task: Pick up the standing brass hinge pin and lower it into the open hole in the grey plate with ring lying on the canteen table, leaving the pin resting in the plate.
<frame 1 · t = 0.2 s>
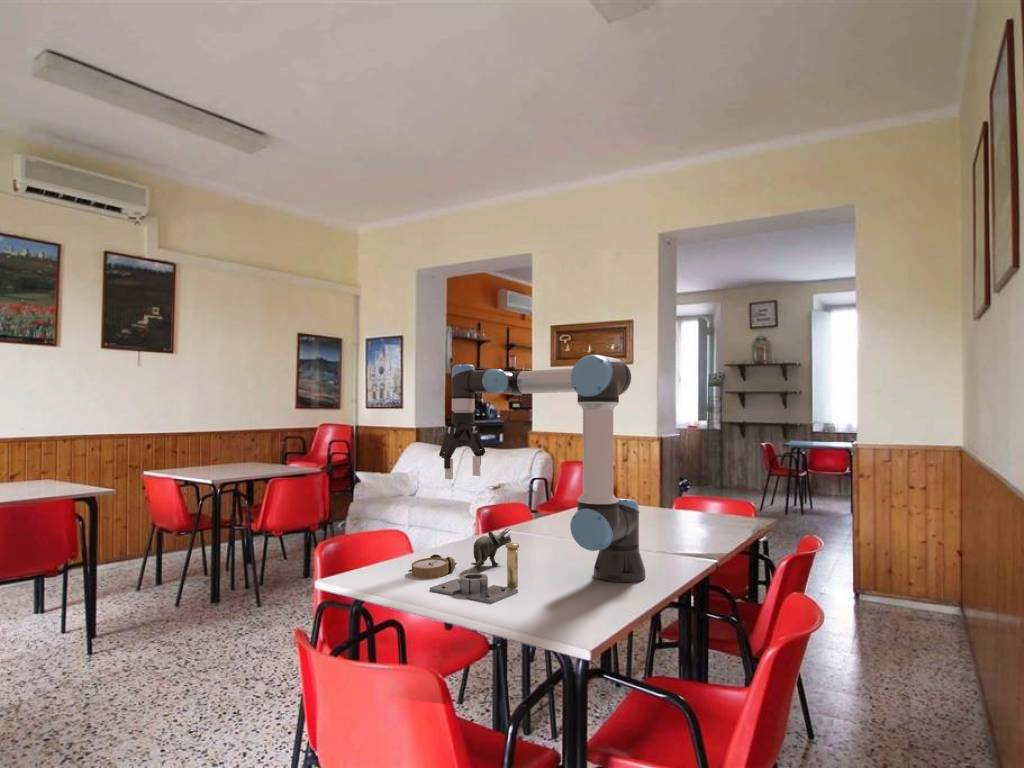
hand: (463, 477, 205), 28 cm above the table, fingers open, 13 cm apart
grey plate with ring: (473, 591, 172), on the table
dinosaur figurine: (483, 568, 199), on the table
hinge pin: (512, 586, 177), on the table
alarm clock: (434, 573, 193), on the table
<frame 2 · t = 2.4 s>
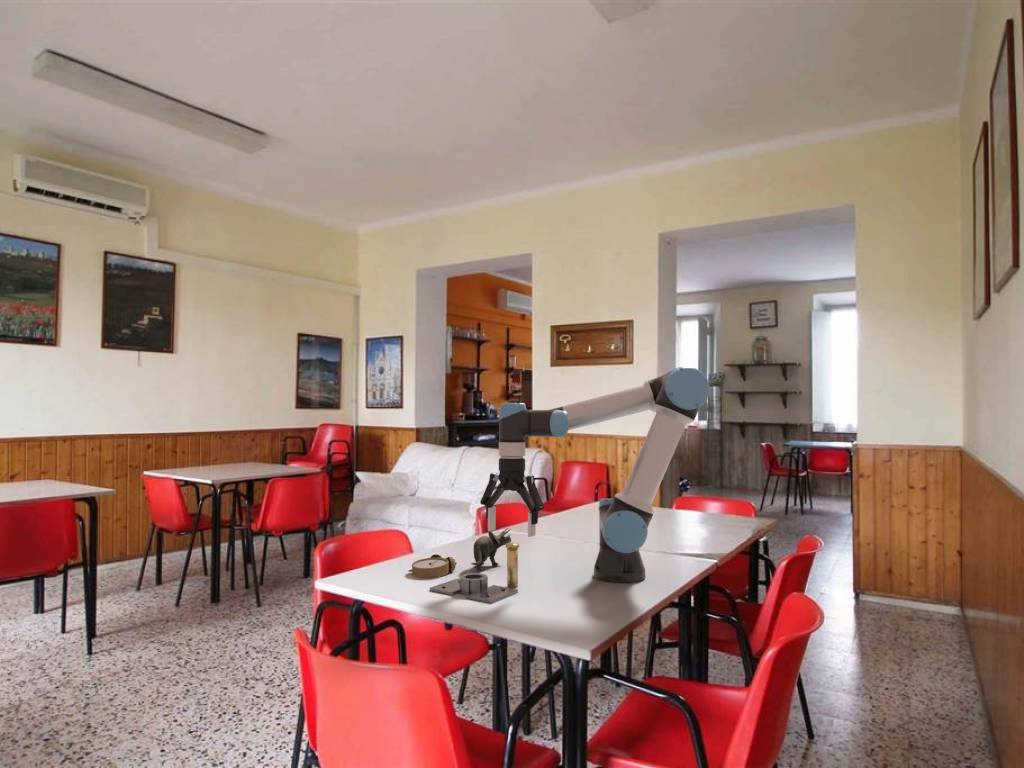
hand: (511, 533, 178), 15 cm above the table, fingers open, 13 cm apart
nothing on the table moved.
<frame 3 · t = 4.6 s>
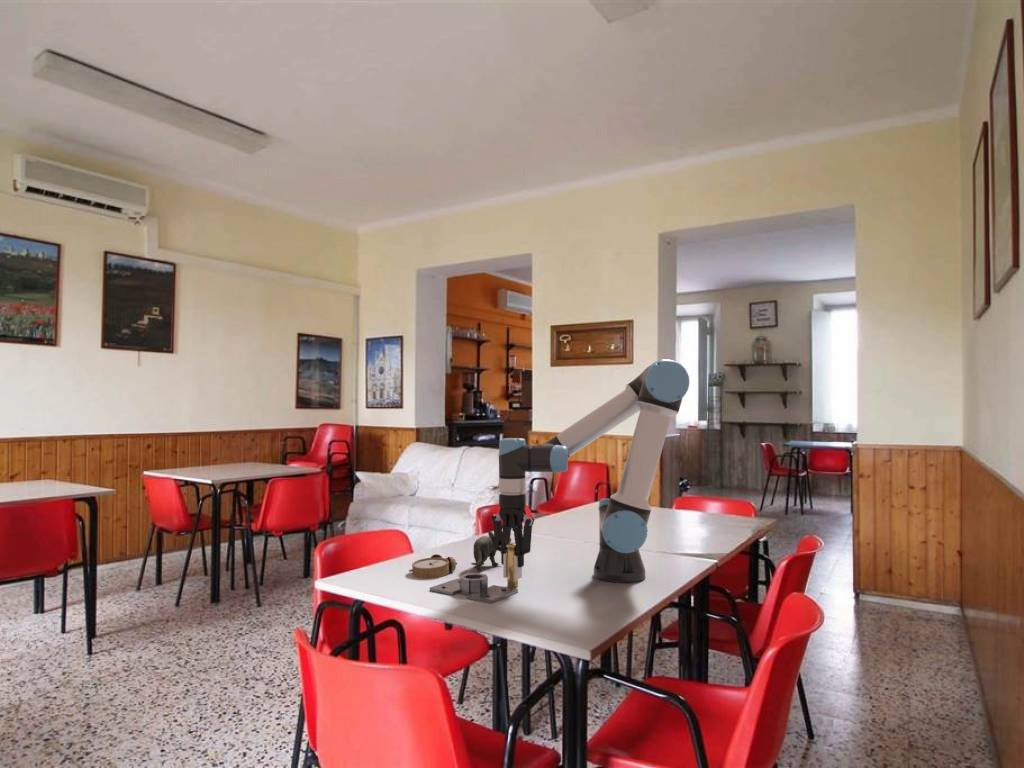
hand: (512, 577, 177), 3 cm above the table, fingers closed on hinge pin, 3 cm apart
hinge pin: (512, 586, 177), on the table, touching gripper
everything else where it was.
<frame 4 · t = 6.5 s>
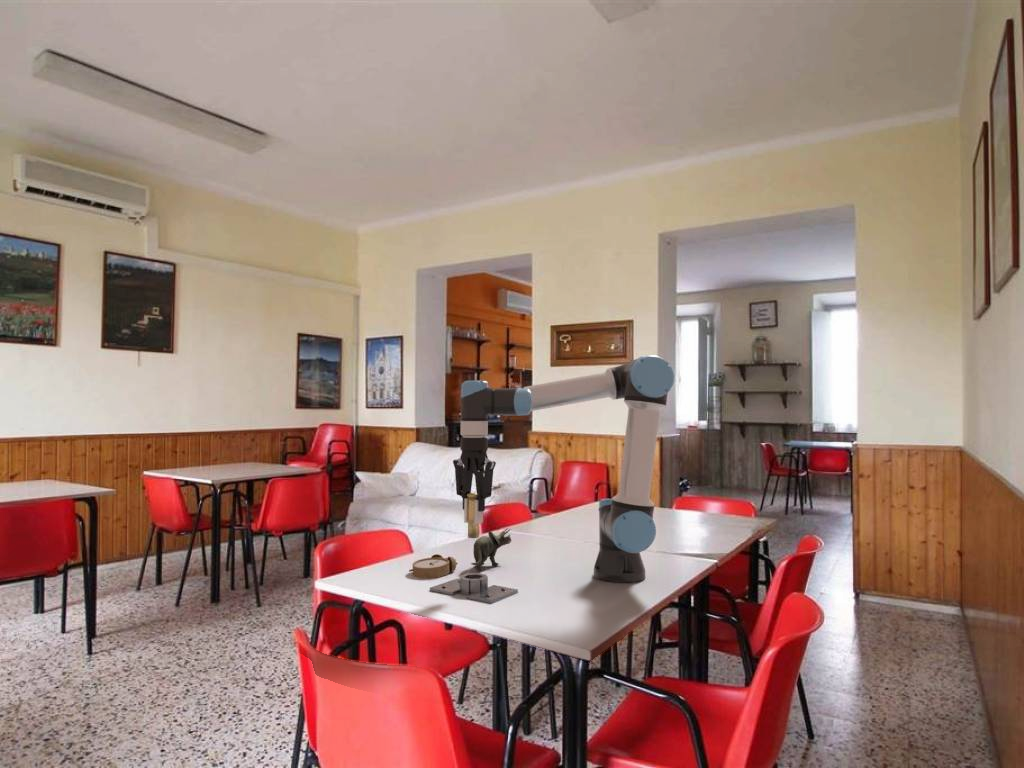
hand: (473, 522, 173), 19 cm above the table, fingers closed on hinge pin, 3 cm apart
hinge pin: (473, 537, 173), point 15 cm above the table, touching gripper
everything else where it was.
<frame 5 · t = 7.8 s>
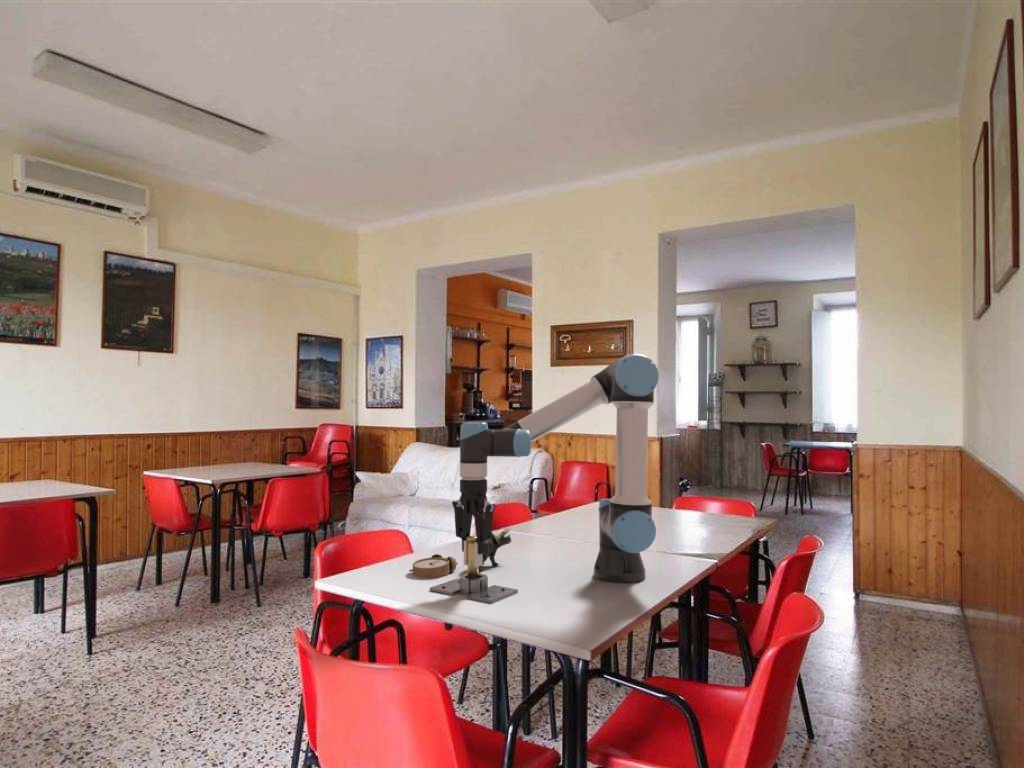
hand: (473, 564, 172), 7 cm above the table, fingers closed on hinge pin, 3 cm apart
hinge pin: (473, 580, 172), point 3 cm above the table, touching gripper
everything else where it was.
when the fingers open (6 cm above the table, at t = 8.7 s): hinge pin drops 1 cm, resting in grey plate with ring.
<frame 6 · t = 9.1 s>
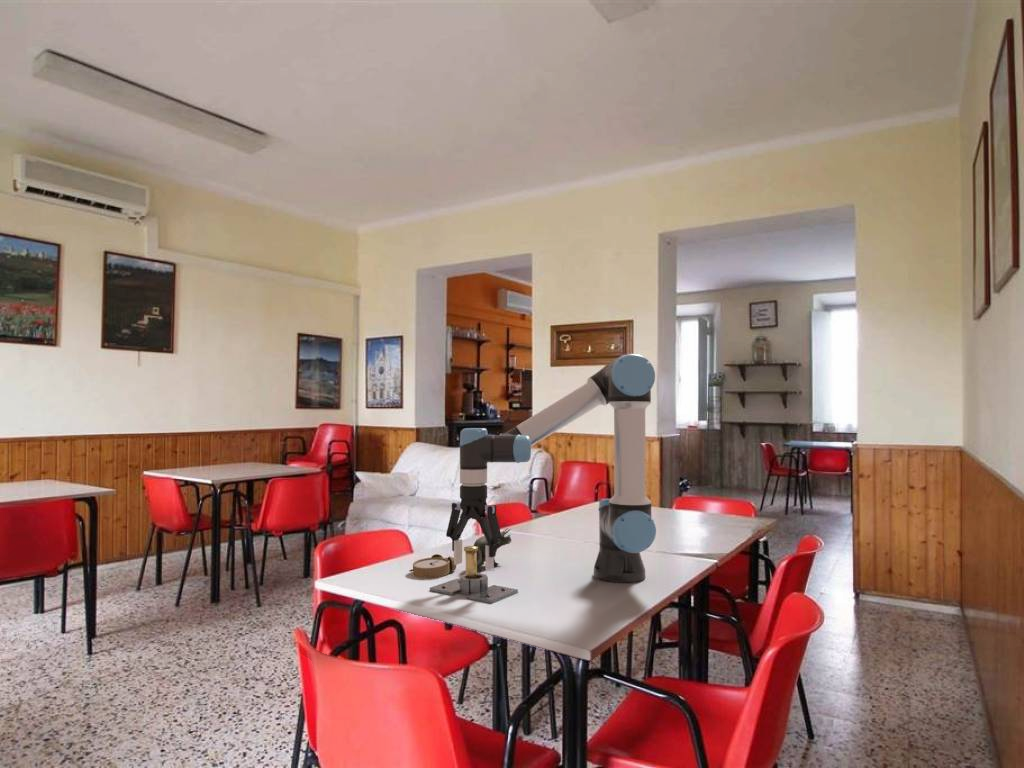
hand: (473, 566, 172), 7 cm above the table, fingers open, 10 cm apart
hinge pin: (471, 591, 172), resting in grey plate with ring
everything else where it was.
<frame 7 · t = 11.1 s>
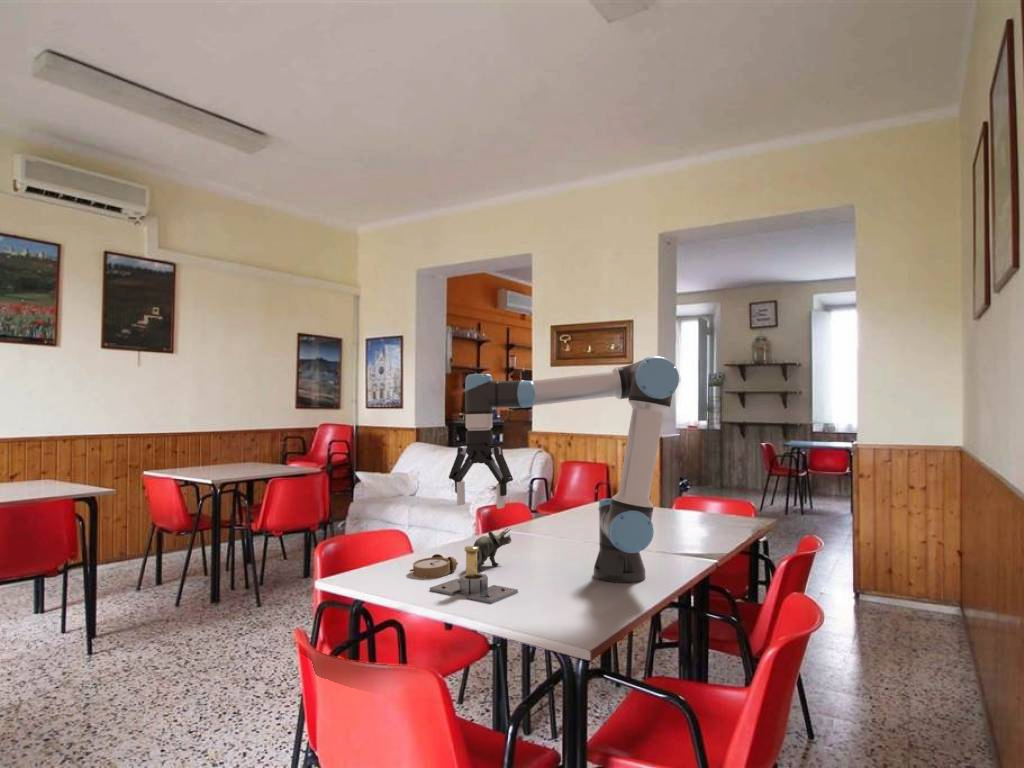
hand: (480, 506, 175), 23 cm above the table, fingers open, 13 cm apart
nothing on the table moved.
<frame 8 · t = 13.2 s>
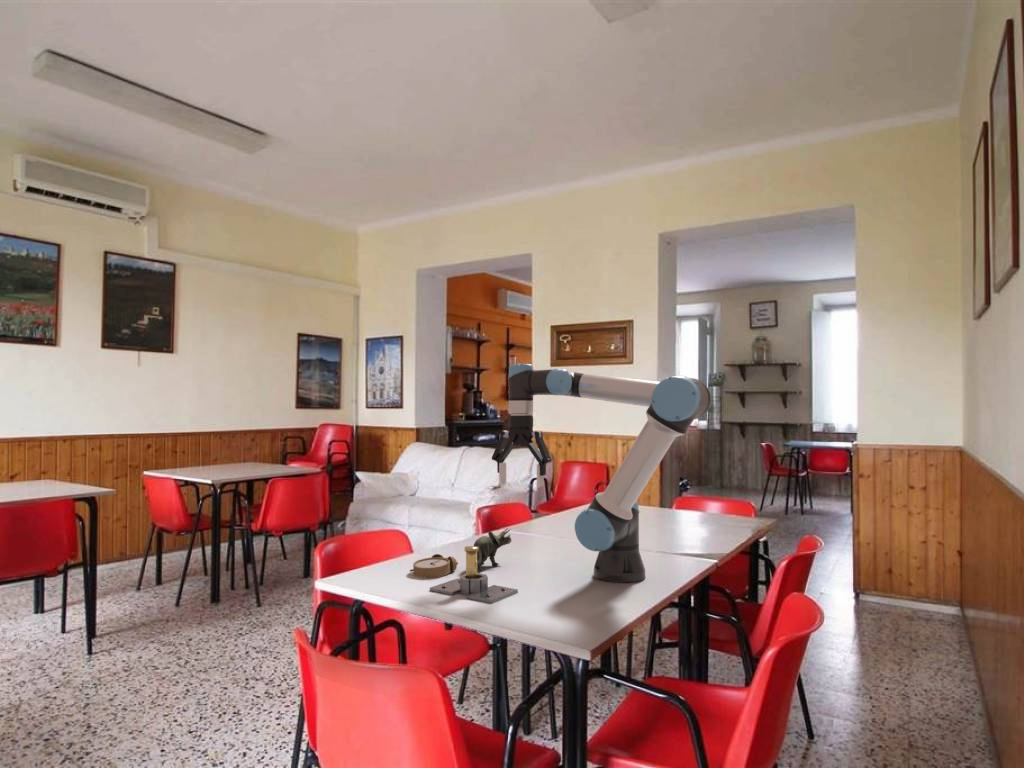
hand: (521, 485, 191), 27 cm above the table, fingers open, 13 cm apart
nothing on the table moved.
at the end: hinge pin 0.6 cm off-centre on the grey plate with ring, point 0.0 cm above the grey plate with ring's base; hinge pin tilted 0°; the gripper is holding nothing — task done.
